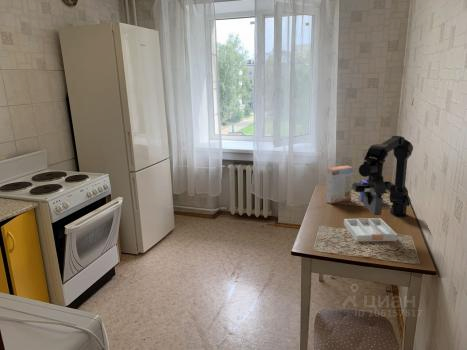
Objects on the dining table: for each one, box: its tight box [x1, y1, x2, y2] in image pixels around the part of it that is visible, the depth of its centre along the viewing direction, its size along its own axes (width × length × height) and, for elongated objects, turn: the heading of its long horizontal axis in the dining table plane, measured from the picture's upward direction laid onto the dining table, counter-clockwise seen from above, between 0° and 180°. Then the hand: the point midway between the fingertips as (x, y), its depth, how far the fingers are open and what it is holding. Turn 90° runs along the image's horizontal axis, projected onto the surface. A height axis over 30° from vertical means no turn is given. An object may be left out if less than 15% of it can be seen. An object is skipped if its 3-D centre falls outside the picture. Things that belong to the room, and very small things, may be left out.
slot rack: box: [343, 217, 399, 243], centre depth 162 cm, size 18×19×3 cm
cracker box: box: [325, 165, 354, 204], centre depth 201 cm, size 14×6×21 cm, turn 108°
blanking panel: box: [362, 189, 384, 216], centre depth 160 cm, size 3×14×8 cm, turn 0°
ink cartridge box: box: [358, 178, 376, 202], centre depth 202 cm, size 10×6×14 cm, turn 88°
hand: (372, 204), depth 161 cm, fingers closed on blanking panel, 3 cm apart
